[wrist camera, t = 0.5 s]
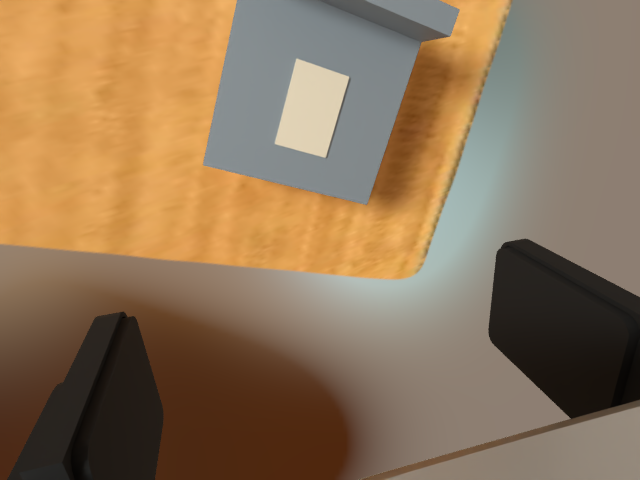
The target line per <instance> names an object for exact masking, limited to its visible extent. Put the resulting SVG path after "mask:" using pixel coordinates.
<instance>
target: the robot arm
mask: <svg viewBox="0 0 640 480" xmlns="http://www.w3.org/2000/svg"><path fill="white" fill-rule="evenodd" d="M489 337H490V340H491V341H492V343H493V344H494V345H495V346H496V347H497V348H498V349H499V350H500V351H501V352H502V353H503V354H504V355H505V356H506V357H507V358H508V359H509V360H510V361H511V362H512V363H514V365H516V366H517V367H518V368H519V369H520V370H521V371H522V372H523V373H524V374H525V375H526V376H527V377H528V378H529V379H530V380H531V381H532V382H533V383H534V384H535V385H536V386H537V387H538V388H540V389H541V390H542V391H543V392H544V393H545V394H546V395H547V396H548V397H549V398H550V399H551V400H552V401H553V402H554V403H555V404H556V405H557V406H558V407H560V409H561V410H563V412H565V413H566V414H567V415H568V416H569V417H570V418H571V419H569V420H566V421H562V422H558V423H555V424H551V425H548V426H544V427H541V428H537V429H533V430H530V431H527V432H523V433H519V434H516V435H512V436H509V437H505V438H502V439H498V440H495V441H491V442H488V443H484V444H481V445H477V446H473V447H470V448H467V449H463V450H459V451H456V452H453V453H449V454H445V455H442V456H439V457H435V458H431V459H428V460H424V461H421V462H417V463H414V464H411V465H407V466H404V467H400V468H396V469H393V470H390V471H386V472H383V473H379V474H376V475H372V476H369V477H365V478H362V479H359V480H640V297H638V296H636V295H634V294H632V293H630V292H629V291H626V290H624V289H623V288H621V287H619V286H617V285H615V284H613V283H611V282H609V281H607V280H606V279H604V278H602V277H600V276H598V275H596V274H594V273H592V272H590V271H588V270H586V269H584V268H582V267H581V266H578V265H577V264H575V263H573V262H571V261H569V260H567V259H565V258H563V257H561V256H559V255H557V254H555V253H554V252H552V251H550V250H548V249H546V248H544V247H542V246H540V245H538V244H536V243H534V242H532V241H530V240H528V239H521V240H515V241H510V242H505V243H504V244H503V245H502V247H501V249H499V250H498V251H497V255H496V263H495V273H494V282H493V292H492V302H491V311H490V321H489ZM162 427H163V408H162V403H161V400H160V396H159V393H158V390H157V386H156V383H155V380H154V376H153V373H152V369H151V366H150V363H149V359H148V356H147V353H146V349H145V346H144V343H143V339H142V336H141V333H140V330H139V326H138V322H137V320H136V318H135V317H134V316H132V317H127V315H126V314H125V313H124V312H119V313H113V314H108V315H102V316H98V317H96V318H95V319H94V321H93V323H92V325H91V327H90V329H89V331H88V333H87V335H86V337H85V339H84V341H83V343H82V345H81V348H80V349H79V351H78V353H77V356H76V358H75V360H74V362H73V364H72V366H71V368H70V370H69V372H68V374H67V376H66V378H65V380H64V382H63V383H60V384H58V385H57V386H56V387H55V388H54V390H53V392H52V393H51V395H50V398H49V399H48V401H47V403H46V405H45V407H44V409H43V411H42V413H41V415H40V417H39V419H38V421H37V423H36V425H35V427H34V429H33V431H32V432H31V434H30V436H29V438H28V440H27V442H26V444H25V446H24V448H23V450H22V452H21V454H20V456H19V458H18V460H17V462H16V464H15V466H14V468H13V470H12V472H11V474H10V475H9V477H8V479H7V480H155V475H156V467H157V461H158V454H159V447H160V440H161V433H162Z"/></svg>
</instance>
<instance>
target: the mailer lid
mask: <svg viewBox="0 0 640 480" xmlns="http://www.w3.org/2000/svg"><path fill="white" fill-rule="evenodd" d="M458 13H459V9H457V8H455V7H453V6H450V5H448V4H446V3H444V2H442V1H439V0H237V3H236V8H235V13H234V18H233V23H232V27H231V32H230V37H229V42H228V47H227V52H226V56H225V61H224V66H223V71H222V76H221V80H220V85H219V90H218V95H217V100H216V104H215V109H214V114H213V119H212V124H211V128H210V133H209V138H208V143H207V148H206V153H205V157H204V162H203V165H204V166H208V167H213V168H217V169H221V170H225V171H229V172H233V173H237V174H242V175H246V176H250V177H254V178H258V179H262V180H266V181H270V182H275V183H279V184H283V185H287V186H291V187H295V188H299V189H303V190H308V191H312V192H316V193H320V194H324V195H328V196H332V197H337V198H341V199H345V200H349V201H353V202H357V203H361V204H365V205H367V203H368V200H369V197H370V194H371V191H372V188H373V185H374V182H375V179H376V176H377V173H378V170H379V167H380V164H381V161H382V158H383V155H384V152H385V149H386V146H387V143H388V140H389V137H390V135H391V132H392V129H393V126H394V123H395V120H396V117H397V114H398V111H399V108H400V105H401V102H402V99H403V96H404V93H405V90H406V87H407V84H408V81H409V78H410V75H411V72H412V69H413V66H414V63H415V60H416V57H417V54H418V51H419V48H420V45H421V42H424V41H429V40H434V39H439V38H445V37H450V36H451V33H452V30H453V27H454V24H455V22H456V19H457V16H458Z"/></svg>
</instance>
